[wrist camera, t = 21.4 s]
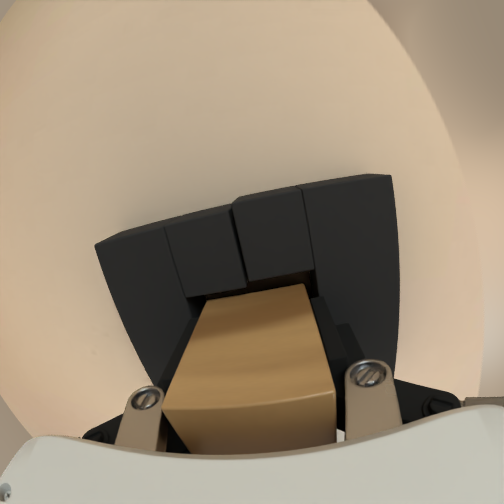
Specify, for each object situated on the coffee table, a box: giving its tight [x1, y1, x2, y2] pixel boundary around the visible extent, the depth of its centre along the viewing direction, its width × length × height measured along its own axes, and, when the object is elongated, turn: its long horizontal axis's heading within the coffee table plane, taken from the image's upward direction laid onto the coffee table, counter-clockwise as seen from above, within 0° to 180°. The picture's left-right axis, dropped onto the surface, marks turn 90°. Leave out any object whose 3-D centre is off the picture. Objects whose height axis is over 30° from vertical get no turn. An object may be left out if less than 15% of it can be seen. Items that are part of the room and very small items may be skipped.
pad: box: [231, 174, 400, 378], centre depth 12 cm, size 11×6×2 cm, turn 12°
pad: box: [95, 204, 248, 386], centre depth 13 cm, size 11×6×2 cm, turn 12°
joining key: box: [161, 284, 337, 455], centre depth 9 cm, size 4×4×6 cm
